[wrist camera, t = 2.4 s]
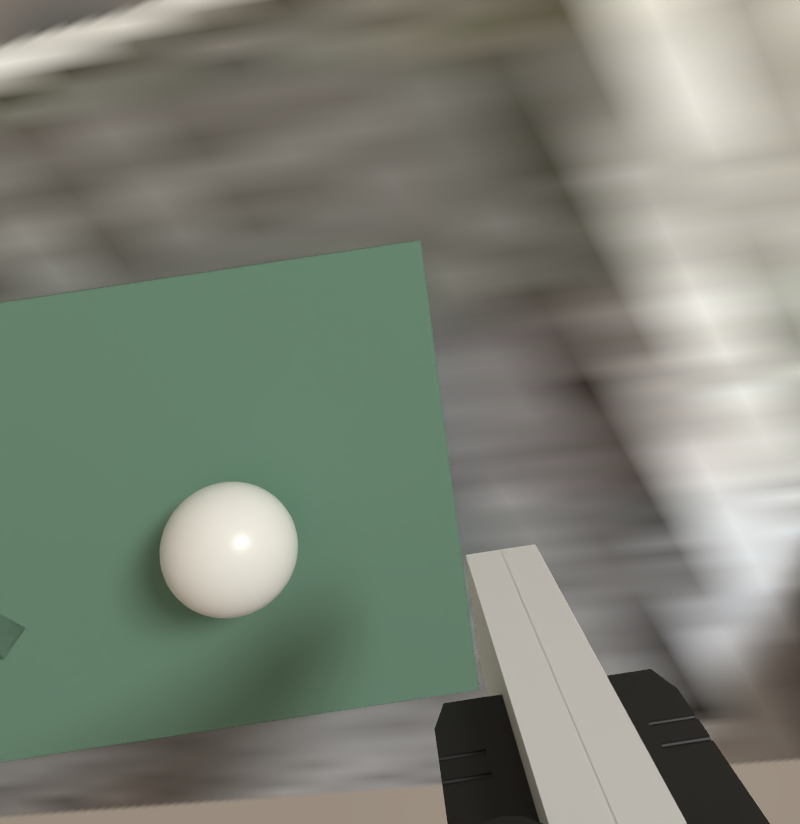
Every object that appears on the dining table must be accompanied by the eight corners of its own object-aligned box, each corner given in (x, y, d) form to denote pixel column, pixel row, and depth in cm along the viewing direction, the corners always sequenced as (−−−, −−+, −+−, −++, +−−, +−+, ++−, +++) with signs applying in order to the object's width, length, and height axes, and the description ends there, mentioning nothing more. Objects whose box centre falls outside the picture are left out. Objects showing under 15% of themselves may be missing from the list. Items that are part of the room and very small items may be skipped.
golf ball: (325, 497, 21) (315, 556, 17) (270, 592, 21) (248, 669, 18) (214, 441, 20) (177, 489, 16) (162, 541, 21) (114, 610, 17)
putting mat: (414, 240, 21) (420, 240, 19) (468, 646, 25) (478, 689, 23) (-355, 355, 21) (-449, 370, 19) (-170, 743, 25) (-227, 796, 23)
